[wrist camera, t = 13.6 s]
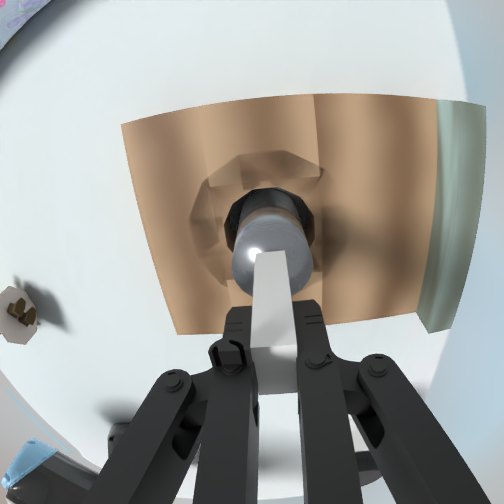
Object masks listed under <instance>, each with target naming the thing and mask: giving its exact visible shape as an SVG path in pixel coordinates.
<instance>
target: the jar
mask: <svg viewBox="0 0 504 504" xmlns="http://www.w3.org/2000/svg"><path fill="white" fill-rule="evenodd" d="M348 417H349V422H350V427H351V432H352V438H353V443H354V449H355V455H356V461H357V467H358V473H359V479H360V486H364V485H367V484H370V483H372V482H374V481H376V480H378V479H379V478H380V477H382V474H381V472H380V471H379V469H378V467H377V465H376V463H375V461H374V459H373V457H372V455H371V453H370V451H369V449H368V447H367V446H366V444H365V442H364V440H363V438H362V436H361V434H360V432H359V430H358V428H357V426H356V425H355V423H354V421H353V419H352V417H351V415H350V414H348Z"/></svg>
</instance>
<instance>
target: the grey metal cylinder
mask: <svg viewBox="0 0 504 504" xmlns="http://www.w3.org/2000/svg"><path fill="white" fill-rule="evenodd" d="M284 250H285V256H286V263H287V270H288V277H289V285H290V292H291V296H293V295H295V294H296V293H298V292H299V291H300V290H301V289H303V287H304V286H305V285H306V284H307V282H308V281H309V279H310V277H311V274H312V270H313V259H312V255H311V252H310V249H309V246H308V242H307V239H306V236H305V233H304V230H303V227H302V224H301V221H300V218H299V215H298V212H297V209H296V206H295V204H294V202H293V201H292V199H291V198H290V197H289V196H288V195H286V194H285V193H283V192H281V191H279V190H275V189H263V190H260V191H257V192H255V193H253V194H252V195H251V196H249V197H248V198H247V199H246V201H245V202H244V204H243V206H242V210H241V215H240V220H239V225H238V230H237V236H236V241H235V246H234V252H233V257H232V263H231V269H232V274H233V277H234V279H235V281H236V283H237V285H238V286H239V287H240V288H241V289H242V290H243V291H244V292H245V293H247V294H248V295H250V296H252V297H253V285H254V265H255V253H262V252H273V251H284Z"/></svg>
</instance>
